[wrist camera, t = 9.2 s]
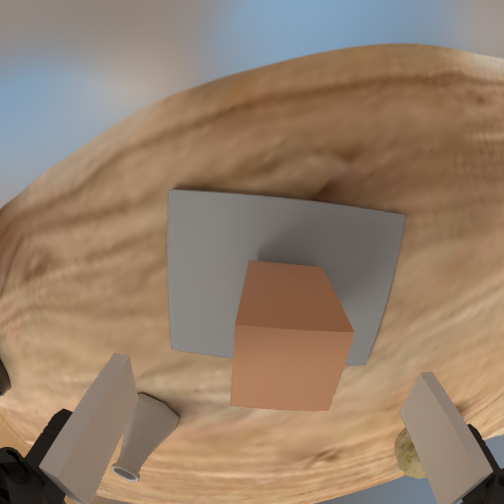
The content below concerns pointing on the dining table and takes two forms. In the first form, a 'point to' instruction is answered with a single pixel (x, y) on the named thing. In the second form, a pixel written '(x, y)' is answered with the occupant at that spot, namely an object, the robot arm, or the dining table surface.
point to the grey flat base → (272, 260)
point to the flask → (143, 435)
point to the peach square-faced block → (288, 339)
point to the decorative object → (408, 456)
